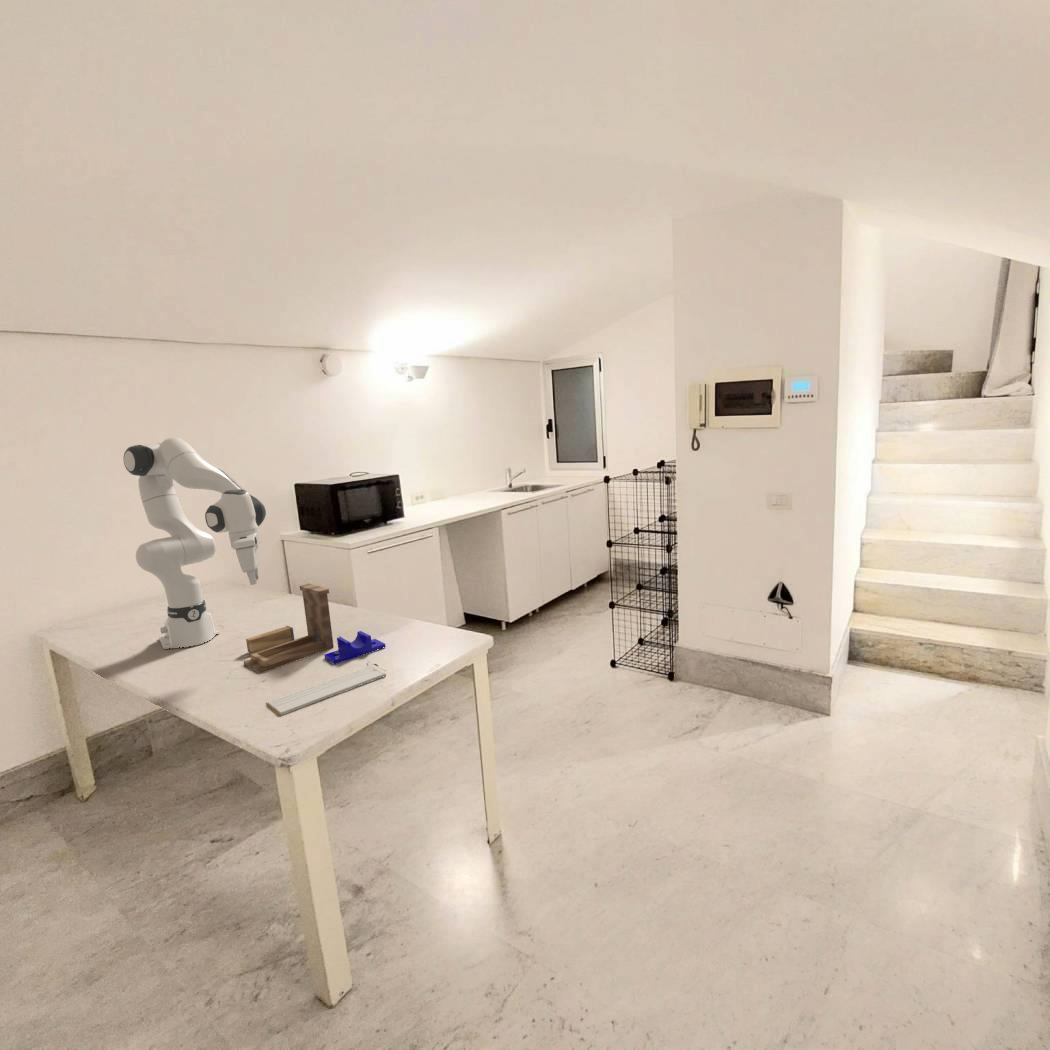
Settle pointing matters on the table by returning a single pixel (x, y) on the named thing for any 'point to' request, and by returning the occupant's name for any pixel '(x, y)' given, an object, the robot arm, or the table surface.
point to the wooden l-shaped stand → (304, 646)
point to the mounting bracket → (353, 648)
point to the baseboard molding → (324, 689)
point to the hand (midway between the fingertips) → (254, 582)
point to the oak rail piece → (269, 639)
